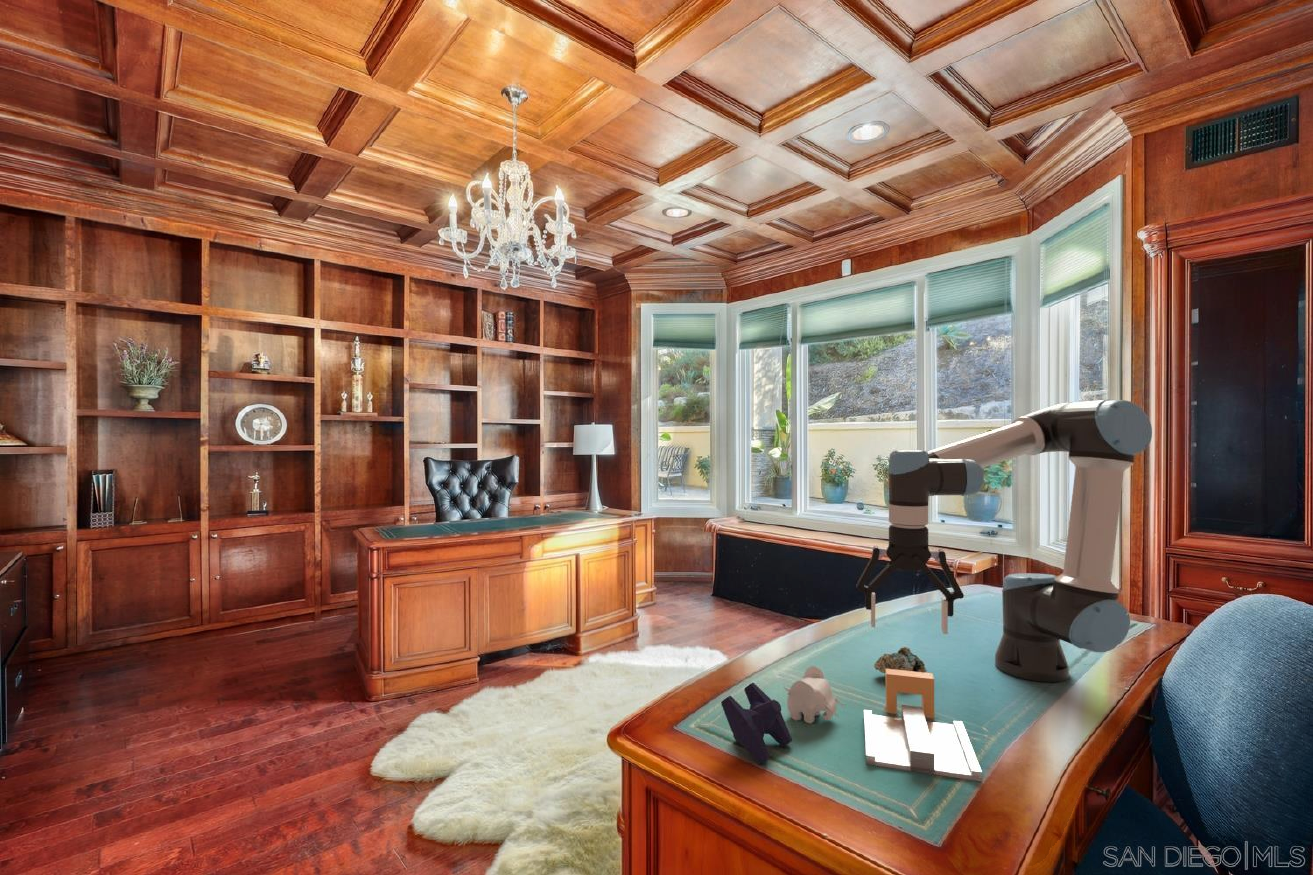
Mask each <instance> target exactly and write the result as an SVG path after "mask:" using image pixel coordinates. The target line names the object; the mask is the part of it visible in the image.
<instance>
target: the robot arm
mask: <svg viewBox="0 0 1313 875" xmlns="http://www.w3.org/2000/svg"><path fill="white" fill-rule="evenodd" d="M1152 438H1153V428H1152V423H1151V420H1150V418H1149V416H1148V414H1147V413H1145V411H1144V409H1143V408H1142V407H1141V406H1140V405H1138V404H1137V403H1135V402H1133V401H1131V400H1125V399H1103V400H1101V399H1100V400H1087V401H1071V402H1070V401H1069V402H1064V403H1058V404H1055V405H1052V406H1049V407H1045V408H1043V409H1040V410H1036V411H1035V412H1031V413H1028V414H1026V415H1023V416H1022V415H1021V416H1020V417H1017V418H1015V419H1014V420H1013V421H1012V423H1011V424H1009V425H1006V426H1002V427H999V428H996V429H994V430H991V431H987V432H984V433H981V434H978V435H975V436H972V437H969V438H967V439H966V438H965V439H962V440H959V441H956V442H954V443H950V444H947V445H944V446H941V447H938V448H935V449H931V450H929V451H927V450H923V449H922V450H917V449H916V450H913V449H908V450H906V449H901V450H899V449H898V450H897V449H896V450H893V451H892V452H890V454H889V459H888V471H887V475H888V522H889V523H890V525H889V526H888V546H887V548H884V547H883V548H882V547H878V546H877V545H873V548H872V551H871V552H872V554H871V557H870V559H869V561H868V562H867V565H866V566H865V568H864V570H863V572H862V573H861V575H860V577H859V579H858V581H857V583H856V585H855V586H856V590H857V591H858V592H862V593H863V594H864V596H865V597H864V602H865V603H864V604H865V605H864V606H865V609H866V610H868V611H870V627H871V628H876V593H875V590H876V589H878V588H879V586H881V584H882V583H883V582H884V581H886V579H887V578H888V577H889V576H890V575H891V574H892V573H894V571H895V570H898V571H900V572H906V571H907V572H908V571H909V572H913V573H917V572H920V571H922V572H923V573H924V574H925V575H926V577H928V578H929V580H930V581H931V583H933V584H934V585H935V586H936V587H937V589H938V590H939V591H940V593H941V594H942V595H943V596H944V597H941V631H942V634H944V635H948V629H949V628H948V627H949V626H948V621H949V620H948V617H953V616H954V603H955V602H954V601H955V600H959V599H960V600H962V599H964V596H965V595H964V593H963V591H962V589H961V587H960V585H959V583H958V580H956V577H955V575H954V574H953V572H952V570H951V568H950V566H949V564H948V562H947V554H946V552H945V551H944V550H943V549H941V548H940V549H938V550H930V549H929V528H928V527H927V525H928V524H929V502H930V501H929V497H934V496H961V497H963V496H971V495H975V494H977V493H979V492H980V491H981V490H982V488H983V486H984V482H985V479H984V477H985V474H984V471H983V468H987V467H990V466H993V465H996V464H999V463H1002V462H1005V461H1008V460H1011V459H1013V458H1017V457H1020V456H1023V455H1026V456H1037V455H1039V454H1043V453H1051V452H1052V453H1053V452H1066V453H1068V460H1069V461H1070V462H1071V463H1072V464H1073V465H1074V467H1075V469H1074V478H1073V486H1072V494H1071V502H1070V503H1071V505H1070V511H1069V512H1070V513H1069V518H1068V519H1069V521H1068V530H1067V538H1066V546H1065V553H1064V554H1065V555H1064V561H1063V572H1062V573H1061V574H1059V575H1055V574H1049V573H1048V574H1047V573H1036V572H1035V573H1034V572H1032V573H1030V572H1029V573H1023V572H1022V573H1021V572H1020V573H1009V574H1008V575H1006V576H1005V577H1004V578H1003V582H1002V584H1003V585H1002V590H1001V592H1002V594H1001V595H1002V596H1001V597H1002V637H1001V638H1000V641H999V644H998V646H997V648H996V652H995V654H994V665H995V666H996V668H997V669H998V670H1000V671H1001V672H1003V673H1005V674H1008V675H1011V676H1013V677H1016V678H1020V679H1024V680H1028V681H1034V682H1040V683H1058V682H1064V681H1066V680H1068V679H1069V677H1070V666H1069V664H1068V661H1067V658H1066V655H1065V653H1064V649H1063V647H1062V645H1061V641H1062V642H1066V643H1068V644H1071V645H1073V646H1074V647H1075V648H1076V647H1077V648H1078V649H1083V650H1086V651H1090V652H1094V653H1106V652H1111V651H1112V650H1115V649H1116V648H1117V646H1118V645H1120V644H1122V643H1123V642H1124V640H1125V639H1126V637H1127V636H1128V633H1129V632H1130V631H1129V630H1130V627H1131V617H1130V613H1129V612H1128V609H1127V608H1126V606H1124V604H1122V603H1121V602H1119V594H1120V593H1119V591H1120V590H1119V589H1118V588H1117V587H1116V586H1115V585H1114V584H1113V583H1112V576H1113V575H1112V574H1113V566H1114V558H1115V549H1116V540H1117V535H1118V534H1117V533H1118V523H1119V515H1120V506H1121V498H1122V489H1123V481H1124V473H1125V471H1126V470H1127V469H1129V468H1130V467H1132V466H1134V462H1135V456H1136V455H1139V454H1141V453H1142V452H1144V451H1145V450H1146V449H1147V447H1149V446H1150V444H1151V441H1152ZM885 555H886V556H887V557H888V559H889V560H890V561H889V562H887V564H886V566H885V567H884V568H883V569H881V571H880V572H879V573H878V574H877V575H876V576H875V577H874V578H873V579H872V580H871V582H869V583H868V585H866V584H867V582H868V580H869V578H870V576H871V575H872V573H873V571H874V570H875V568H876V566H877V564H878V561H879V559H882V558H883V557H884V556H885ZM931 558H933V559H934V561H935V562H937V563H939V565H940V567H941V569H942V571H943V573H944V575H945V576H946V578H947V581H948V582H949V584H950V586H951V588H952V590H953V591H950V590H949V589H948V588H947V587H946V585H945V584H944V583H943V582H942V581H941V579H939V578H938V576H937V575H936V574H935V573H934V572H933V570H931V568H930V567H929V566H928V565H927V564H928V562H929V561H930V559H931Z"/></svg>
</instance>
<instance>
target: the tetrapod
mask: <svg viewBox="0 0 1313 875" xmlns="http://www.w3.org/2000/svg"><path fill="white" fill-rule="evenodd" d="M743 690H744V693H745V695H746V698H747V701H748V703H749V708H743V706H742V705H741V704H740V703H739V702H738V701H736V700H735V698H734V697H733V696H731V695H729V696H727V697H726V698H724V699H723V700H721V702H720V705H721V707H722V710H723V712H724V715H725V717H726V719H727V720H726V721H727V723H728V725H729V728H730V730H731V733H732V735H733V738H734V741H736V742H737V743H739V744H740V746H741V747H742V748H743V749H745V750H746V751H747V753H748V754H749V755H750V756H751V757H752V758H753V759H754V760H756V762H757V763H758V765H763V764H764V763H765V762H767V761H768V760H769V759H771V755H770V752H769V749H768V747H767V745H766V743H765V740H764V737H765V735H770V736H771V738H772V739H773V740H775V741H776V743H778V744H779V745H780V747H782V748H785V747H786V746H787V745H789V744H790V743H791V742H793V738H792V736H791V734H790V733H791V732H790V730H789V729H788V727H787V724H786V722H785V719H784V716H783V715H782V706H781V704H780V703H779V701H777V700H776V699H771V697H769V696H768V695H767V694H766V692H764V691H763V690H762V689H761V688H760V687H759V686H758V685H757V684H755V682H752V683H749V684H748V685H747V686H745V687H744V689H743Z"/></svg>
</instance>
